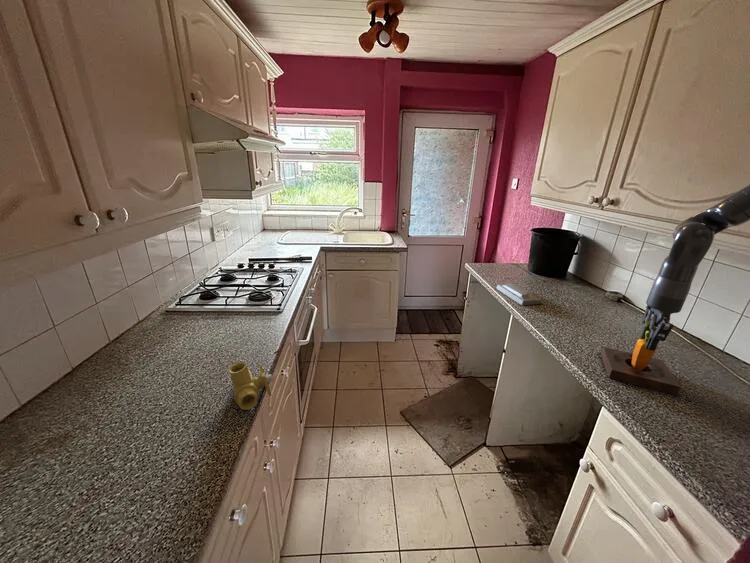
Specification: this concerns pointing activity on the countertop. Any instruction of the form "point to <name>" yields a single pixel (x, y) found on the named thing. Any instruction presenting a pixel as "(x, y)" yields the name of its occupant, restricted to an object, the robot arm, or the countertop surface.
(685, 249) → the robot arm
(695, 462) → the countertop surface
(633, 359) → the carrot
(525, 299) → the soap mold
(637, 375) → the socket board
